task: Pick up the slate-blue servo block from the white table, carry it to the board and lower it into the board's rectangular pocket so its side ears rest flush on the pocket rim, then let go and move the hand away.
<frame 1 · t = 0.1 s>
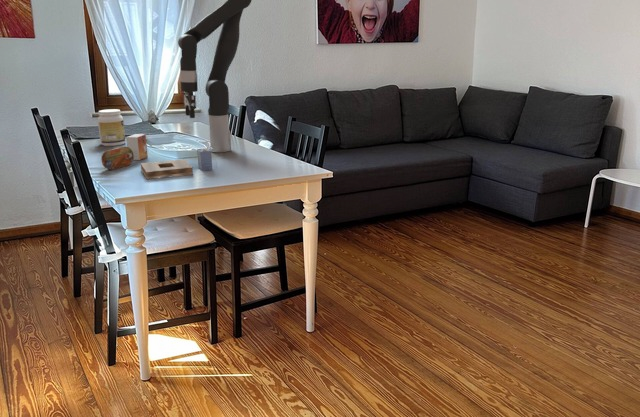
hand: (190, 116, 270), 17 cm above the table, tool pointing down, fingers open, 8 cm apart
small box: (138, 158, 266), on the table
pocket board: (166, 172, 241), on the table
tin: (118, 167, 250), on the table
servo block: (205, 168, 247), on the table
supplement tub: (113, 144, 297), on the table
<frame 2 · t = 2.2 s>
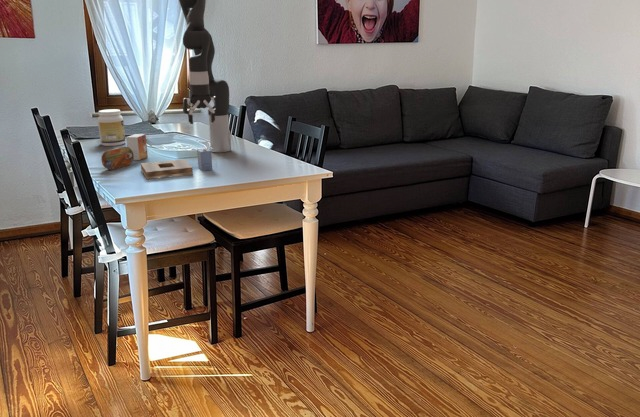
hand: (202, 123, 241), 19 cm above the table, tool pointing down, fingers open, 8 cm apart
nothing on the table moved.
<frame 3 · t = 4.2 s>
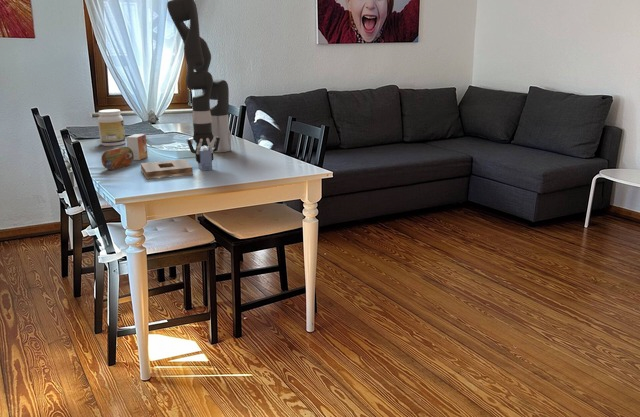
hand: (204, 161, 246), 3 cm above the table, tool pointing down, fingers closed on servo block, 4 cm apart
servo block: (205, 168, 247), on the table, touching gripper
everything else where it was.
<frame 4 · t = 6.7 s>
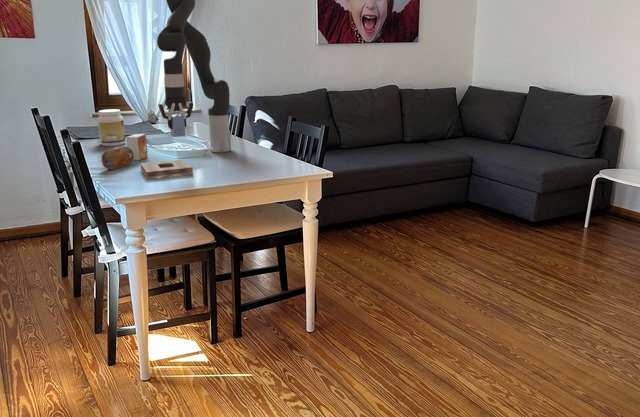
hand: (177, 128, 237), 18 cm above the table, tool pointing down, fingers closed on servo block, 4 cm apart
servo block: (178, 135, 238), point 15 cm above the table, touching gripper
everything else where it was.
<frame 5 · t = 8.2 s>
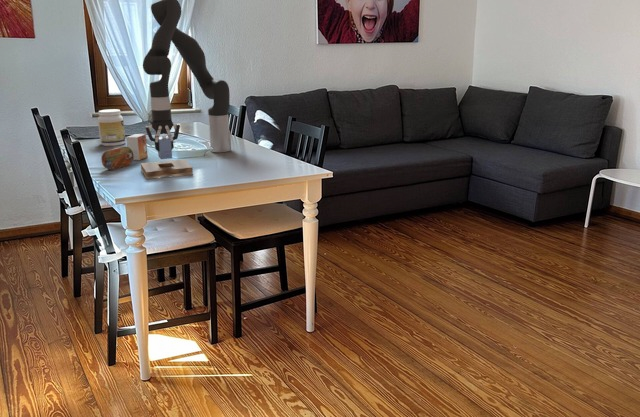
hand: (164, 150, 238), 9 cm above the table, tool pointing down, fingers closed on servo block, 4 cm apart
servo block: (165, 157, 239), point 6 cm above the table, touching gripper
everything else where it was.
when the fingers open (5 cm above the table, at t = 9.5 s): servo block stays where it is, resting on pocket board.
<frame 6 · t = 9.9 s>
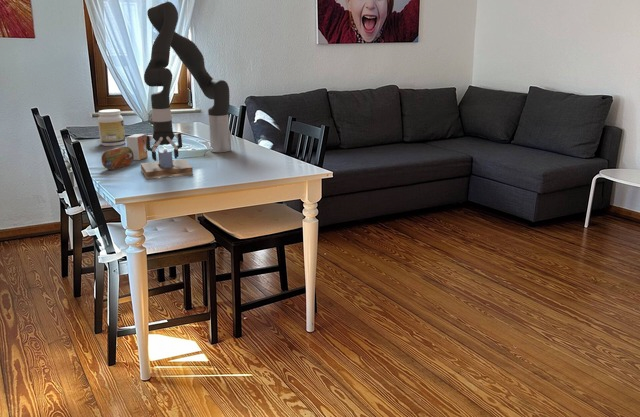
hand: (165, 159, 239), 6 cm above the table, tool pointing down, fingers open, 8 cm apart
servo block: (166, 170, 240), point 1 cm above the table, touching pocket board
everything else where it was.
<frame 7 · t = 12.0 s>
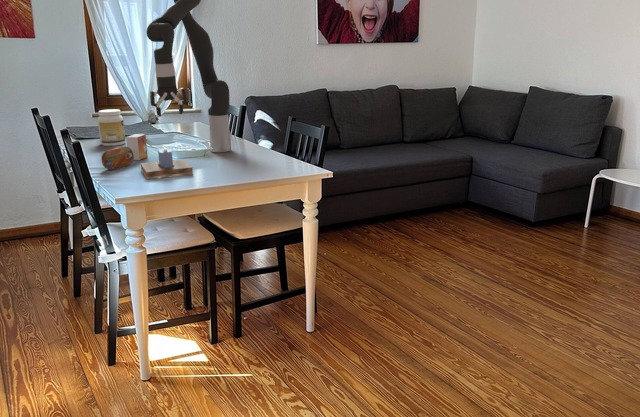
hand: (170, 115, 242), 22 cm above the table, tool pointing down, fingers open, 8 cm apart
nothing on the table moved.
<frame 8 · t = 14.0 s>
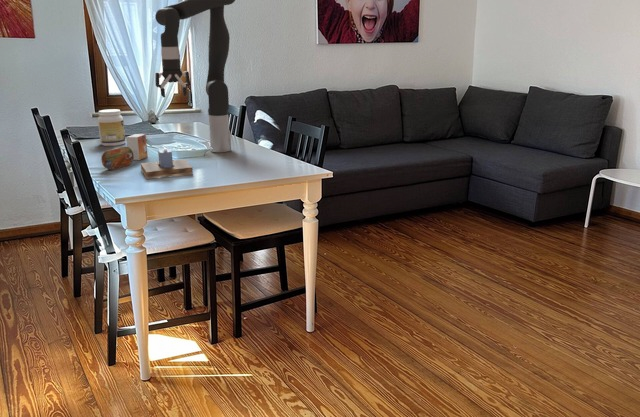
hand: (173, 96, 253), 28 cm above the table, tool pointing down, fingers open, 8 cm apart
nothing on the table moved.
at the end: servo block 0.0 cm off-centre on the pocket board, point 1.0 cm above the pocket board's base; servo block tilted 0°; the gripper is holding nothing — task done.
